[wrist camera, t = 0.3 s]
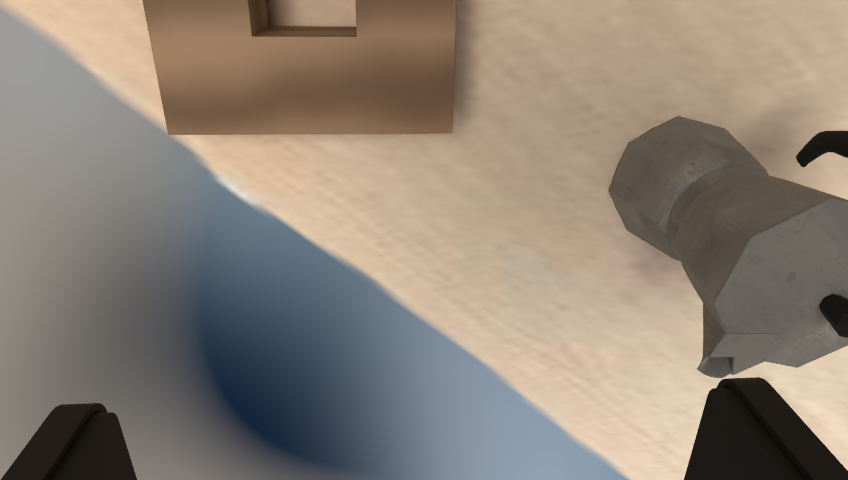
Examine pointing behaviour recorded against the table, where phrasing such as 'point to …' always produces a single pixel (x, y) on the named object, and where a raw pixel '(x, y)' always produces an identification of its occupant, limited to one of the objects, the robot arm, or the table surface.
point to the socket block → (304, 69)
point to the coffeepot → (742, 242)
